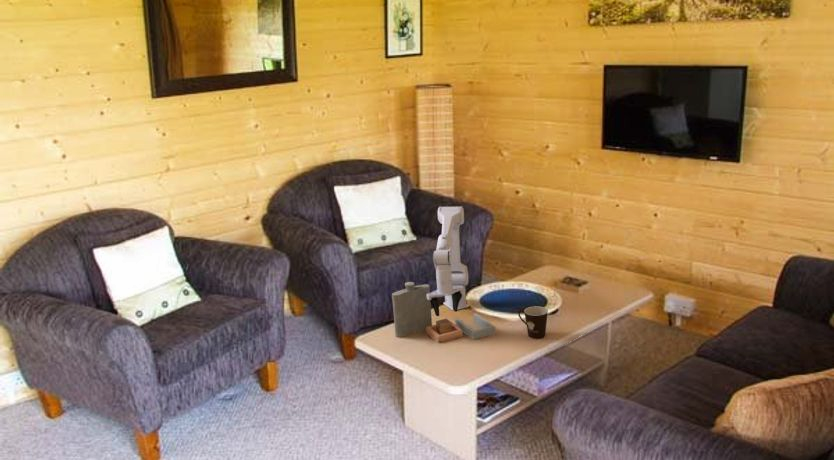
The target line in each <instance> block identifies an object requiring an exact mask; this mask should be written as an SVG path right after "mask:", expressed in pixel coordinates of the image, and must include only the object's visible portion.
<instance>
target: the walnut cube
mask: <svg viewBox="0 0 834 460" xmlns="http://www.w3.org/2000/svg"><path fill="white" fill-rule="evenodd" d="M450 321H451V320H449V319H448V318H442V319H439V320H435V325H436V330H437V333H439V334H440V335H441V334H445V333H449V332H452V323H453V322H452V321H451V322H450Z"/></svg>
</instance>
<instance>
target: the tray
mask: <svg viewBox="0 0 834 460" xmlns="http://www.w3.org/2000/svg"><path fill="white" fill-rule="evenodd" d="M449 321H450V322H452V321H451V320H449ZM425 331H426V332H425V333H426V334H427V335H428V336H430V338H432V339H433V340H434V341H435V342H437V343H438V344H439V343H443V342H447V341H451V340H454V339H458V338H462V337H464V334H463V333H464V332H463V330H461V329H460V328H459V327H457V326H456V325H455V322H452V332H449V333H445V334H441V335H440V334H439V333H437V330H436V324H432V326H428V327H426V330H425Z"/></svg>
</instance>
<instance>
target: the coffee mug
mask: <svg viewBox="0 0 834 460" xmlns="http://www.w3.org/2000/svg"><path fill="white" fill-rule="evenodd" d="M521 312H523V313H524V318H525V320H524V319H523V318H522V316H521ZM548 313H549V312H548V308H546V307H544V306H537V305H535V306H529V307H526V308H525V309H521V310H518V313H517V314H518V318H519V320H521V321H522V322H523V324H525V325H526V330H527V336H528V338H530V339H533V340H541V339H544V338H545V337H546V332H547V323H548Z"/></svg>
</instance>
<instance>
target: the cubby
mask: <svg viewBox="0 0 834 460" xmlns="http://www.w3.org/2000/svg"><path fill="white" fill-rule="evenodd" d="M473 321H474V322H475V323H476V324H477V325H478V326H480V327H481V328H478V329H473V328H472V327H471V326H469V325H468V324H467V323H465V322H464V321H463V320H461V319H460V318H458V317H457V318H454V324H455V325H456V326H457V327H459V328H460V329H461V330H463V333H464V334H465V335H467V336H468V337H470V338H471V339H472V340H475V339H480V338H483V337H487V336H492V335H495V334H496V326H495V325H493V324H492V323H491V322H489V321H488V320H487V319H485V318H483V317H482V316H481V315H480V314H478V313H473Z"/></svg>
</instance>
